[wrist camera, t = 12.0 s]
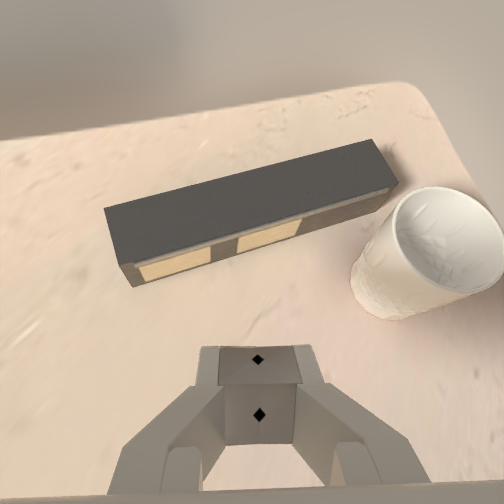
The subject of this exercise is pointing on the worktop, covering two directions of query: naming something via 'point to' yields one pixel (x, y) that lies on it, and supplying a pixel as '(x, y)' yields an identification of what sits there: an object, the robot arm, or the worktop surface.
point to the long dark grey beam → (246, 211)
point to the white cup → (428, 254)
